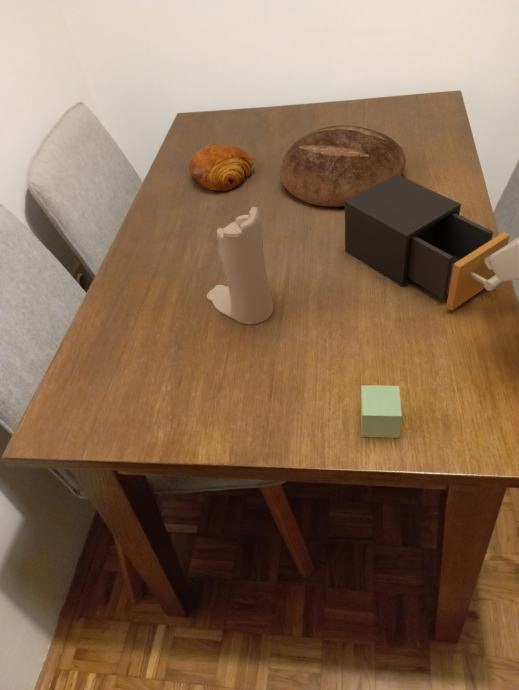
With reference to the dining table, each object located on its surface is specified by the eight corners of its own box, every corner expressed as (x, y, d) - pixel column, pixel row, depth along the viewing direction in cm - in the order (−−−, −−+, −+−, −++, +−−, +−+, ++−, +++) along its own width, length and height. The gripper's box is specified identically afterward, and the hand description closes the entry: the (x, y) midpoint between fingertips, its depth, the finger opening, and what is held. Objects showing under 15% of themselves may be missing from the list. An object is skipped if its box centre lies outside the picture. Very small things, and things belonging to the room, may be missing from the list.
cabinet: (452, 255, 95) (461, 203, 87) (402, 287, 91) (406, 235, 83) (393, 223, 104) (396, 174, 96) (345, 250, 100) (344, 201, 92)
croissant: (207, 207, 120) (200, 178, 114) (184, 171, 129) (177, 142, 123) (264, 186, 123) (261, 156, 116) (237, 152, 132) (233, 123, 125)
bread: (311, 145, 130) (309, 104, 123) (418, 158, 120) (423, 115, 112) (262, 199, 116) (256, 157, 109) (379, 220, 105) (381, 175, 98)
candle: (223, 279, 98) (202, 182, 84) (281, 305, 91) (269, 205, 77) (197, 301, 95) (169, 204, 80) (255, 330, 88) (236, 229, 73)
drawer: (521, 291, 85) (535, 246, 79) (474, 324, 81) (484, 280, 75) (435, 244, 96) (441, 202, 90) (390, 272, 92) (393, 230, 86)
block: (397, 407, 74) (399, 385, 70) (399, 438, 70) (402, 416, 67) (360, 407, 74) (361, 385, 71) (361, 437, 71) (361, 415, 67)
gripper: (640, 157, 65) (546, 199, 78) (537, 227, 58) (452, 259, 71) (663, 202, 65) (565, 236, 78) (563, 276, 58) (474, 300, 71)
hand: (511, 248), depth 74 cm, fingers open, 8 cm apart
